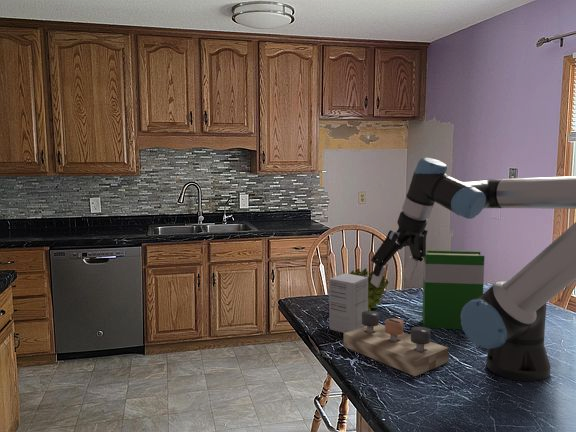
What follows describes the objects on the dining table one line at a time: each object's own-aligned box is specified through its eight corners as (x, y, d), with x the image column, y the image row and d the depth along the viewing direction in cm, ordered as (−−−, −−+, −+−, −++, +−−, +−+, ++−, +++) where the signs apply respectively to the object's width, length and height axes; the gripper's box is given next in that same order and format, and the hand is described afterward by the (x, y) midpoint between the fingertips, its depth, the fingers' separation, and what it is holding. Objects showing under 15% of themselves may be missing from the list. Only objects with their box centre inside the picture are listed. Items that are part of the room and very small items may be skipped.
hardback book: (477, 322, 169) (479, 251, 166) (481, 330, 162) (484, 255, 159) (422, 320, 172) (423, 250, 169) (424, 327, 165) (425, 254, 162)
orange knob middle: (406, 345, 143) (407, 320, 142) (394, 350, 140) (395, 324, 139) (392, 340, 147) (393, 316, 146) (381, 344, 144) (381, 320, 143)
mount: (448, 362, 138) (448, 347, 137) (415, 376, 129) (415, 361, 129) (376, 335, 158) (376, 323, 158) (343, 346, 150) (343, 333, 149)
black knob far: (382, 336, 150) (382, 313, 149) (370, 340, 147) (370, 317, 146) (369, 332, 154) (369, 309, 153) (358, 336, 151) (358, 313, 150)
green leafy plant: (332, 289, 195) (362, 260, 197) (361, 319, 192) (391, 289, 194) (336, 285, 177) (368, 253, 179) (368, 318, 174) (401, 286, 176)
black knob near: (433, 355, 136) (434, 330, 135) (421, 360, 133) (422, 334, 132) (418, 350, 140) (418, 325, 139) (406, 354, 137) (407, 329, 136)
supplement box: (344, 321, 172) (344, 272, 169) (368, 327, 166) (369, 276, 164) (328, 329, 164) (328, 278, 162) (352, 335, 158) (353, 282, 156)
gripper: (432, 205, 147) (409, 268, 156) (373, 211, 132) (351, 280, 141) (453, 217, 142) (428, 281, 151) (393, 224, 127) (369, 295, 135)
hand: (391, 281), depth 146 cm, fingers open, 13 cm apart
